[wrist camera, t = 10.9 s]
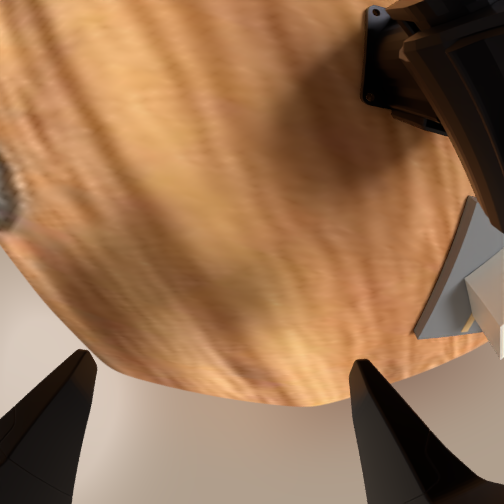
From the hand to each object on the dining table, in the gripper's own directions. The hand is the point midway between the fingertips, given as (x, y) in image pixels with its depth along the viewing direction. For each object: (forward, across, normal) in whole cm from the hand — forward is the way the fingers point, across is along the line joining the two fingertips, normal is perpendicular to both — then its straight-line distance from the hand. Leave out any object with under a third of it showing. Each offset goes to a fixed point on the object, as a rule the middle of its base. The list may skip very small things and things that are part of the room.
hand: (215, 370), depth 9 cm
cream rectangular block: (+11, -24, +7) cm, 27 cm away
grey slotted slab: (+12, -23, +5) cm, 26 cm away
